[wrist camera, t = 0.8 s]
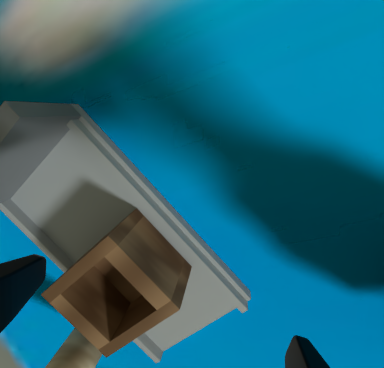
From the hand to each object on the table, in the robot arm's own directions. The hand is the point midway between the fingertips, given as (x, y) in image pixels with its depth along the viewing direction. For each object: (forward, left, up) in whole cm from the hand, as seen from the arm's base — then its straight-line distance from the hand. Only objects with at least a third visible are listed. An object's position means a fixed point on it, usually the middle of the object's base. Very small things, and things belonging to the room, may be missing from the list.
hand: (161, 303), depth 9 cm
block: (-1, +9, -12) cm, 15 cm away
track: (+1, +9, -13) cm, 16 cm away
